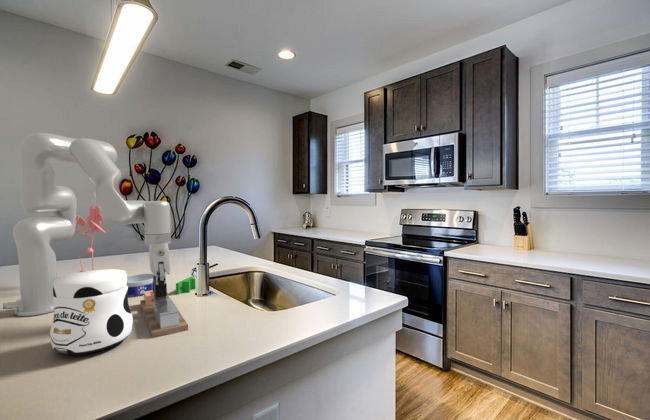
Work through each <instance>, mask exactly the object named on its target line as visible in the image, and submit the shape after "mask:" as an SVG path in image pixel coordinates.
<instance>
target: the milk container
mask: <svg viewBox="0 0 650 420" xmlns="http://www.w3.org/2000/svg"><path fill="white" fill-rule="evenodd" d="M84 271H85V272H80V271H79V272H74V273H73V272H72V273H70V274H65V275H62V276H59V277H58V276H57V278H56V279H55V280H54V283H53V295H54V296H53V306H54V311H53V317H52V323H51V325H50V330H49V339H50V345H51V347H52V349H53V350H54V351H55V352H56V353H59V354H61V355H67V356H68V355H69V356H76V355H77V356H78V355H86V354H91V353H95V352H100V351H103V350H106V349H110V348H112V347H114V346H116V345H118V344H120V343H122V342H123V341H124V340H126V339H127V338H128V337H129V335H130V334H131V332H132V330H133V323H134V320H133V318H134V317H133V314H132V310H131V308H130V304H129V298H128V286H127V276H128V274H127V271H125V270H124V269H114V268H110V269H108V268H107V269H94V270H93V269H92V270H84Z"/></svg>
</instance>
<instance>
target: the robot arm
mask: <svg viewBox="0 0 650 420" xmlns="http://www.w3.org/2000/svg"><path fill="white" fill-rule="evenodd" d="M18 153H19V154H18V155H19V156H18V157H19V161H20V168H21V181H20V205H21V208H22V209H23V210H24V211H25V212H27V213H31V214H46V213H47V214H49V216H33V217H27V218H23V219H21V220H19V221H18V222H16V224H14V226H13V230H12V236H13V240H14V243H15V246H16V251H17V256H18V257H17V259H18V272H19V289H20V290H19V291H20V298H19V299H16V300H15V301H12V302H11V301H8V302H3V303H2V309H3V310H13V309H15V310H14V315H15V316H17V317H33V316H38V315H44V314H49V313H51V312H52V313H54V306H53V296H54V295H53V283H54V280H55V279H56V278H58V267H57V266H58V265H57V256H56V253H55V251H54V250H53V248H52V247H51V244H56V243H62V242H67V241H69V240H70V239H71V238H73V236H74V235H75V233H76V232H75V231H76V225H77V221H76V217H77V206H78V205H77V204H78V203H77V202H78V201H77V196H76V194H75V193H74V191H73V190H72V189H71V188H69V187H67V186H64V185H56V171H55V169H54V167H53V165H52V164H51V162H50V161H56V162H57V161H58V162H65V163H74V164H77V165H78V166H79V167H80V169H81V170H82V171H83V172H84V173H85V175H86V176H87V177H88V178H89V180H90V181H91V182H92V184H93V185H94V187H93V193H94V200H95V203H96V206H97V205H98V207H99V208H100V211H101V212H102V213H103V214H104V215H105V216H106V218H107V219H109V221H111V222H112V223H114V224H116V225H119V226H125V225H133V224H134V225H135V224H144V225H143V226H144V244H145V245H147V246H148V253H149V255H148V256H149V267H150V272H151V273H152V274H153V279H154V278H156V285H155V296H156V298H158V297H164V296H167V292H168V291H167V290H168V289H167V288H168V287H167V286H168V285H167V277H166V276H167V275H170V274H171V271H172V270H171V259H170V249H169V244H171V243H172V237H171V235H172V233H171V205H170V202H168V201H166V200H142V199H141V200H138V199H137V200H133V199H132V200H131V199H130V200H125V199H123V198H122V197H121V195H120V194H119V193H118V191H117V190H116V188H115V186H114V185H115V184H116V183H117V182H118V181H119V180H121V179H120V178H121V177H122V173H121V170H120V169H119V168H118V167H117V165H116V164H115V163H116V162H117V160H118V153H117V150H116V148H115V147H114V146H113V145H112V144H111V143H109V142H107V141H106V142H105V141H102V140H97V139H93V138H88V137H86V138H85V137H80V138H74V137H68V136H64V135H60V134H59V135H58V134H56V133H49V132H36V133H35V132H34V133H31V134H29V135H27V136H26V137H25V138H24V139H23V140H22V141H21V143H20V145H19V151H18ZM166 274H167V275H166ZM153 293H154V283H153Z"/></svg>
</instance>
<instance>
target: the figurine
mask: <svg viewBox="0 0 650 420" xmlns="http://www.w3.org/2000/svg"><path fill="white" fill-rule="evenodd" d="M103 220H104V215H103V214H102V213H101V209H100V208H99V206H98V205H97V204H96V206H95V207H94V206H93V205H92V204H91V205H90V208H89V216H87V217H86V220H85V219H84V218H83V217H82V216H80V215H79V214H77V215H76V227H75V232H74V233H75V234H78V233H81V234H83V235H84V236H85V237H88V236H89V237H91V242H90V243H91V244H90V247H87V249H86V251H85V252H86V253H84V254H82V255H80V256H78V258H79V263H80V266H81V269H82V270H80V271H79V272H85V271H86V270H84V267H83V263H82V260H81V257H83V256H85V255H91V261H92V262H91V263H92V265H91V266H92V267H91V268H92V271H93V270H95V269H94V251H95V250H94V249H93V242H94V239H95V237H94V236H93V235H91V234H89V232H91V233H92V234H93V233H94V232H95V231H96V232H97V233H99V232H100V231H101V232H103V233H104V234H107V232H106V231H105V230H104V229H103V228H102V227H101V226H102V221H103ZM79 225H80V226H81V227H82V228H83V229H82V230H78V226H79ZM86 228H87V230H86ZM85 230H86V232H85Z"/></svg>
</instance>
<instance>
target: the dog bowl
mask: <svg viewBox="0 0 650 420" xmlns="http://www.w3.org/2000/svg"><path fill="white" fill-rule="evenodd" d="M127 286H128V299H129V298H130V297H131V298H138V296H139V297H144V296H143V295H144V292H145V291H151V290H153V274H152V272H151V273H150V272H149V273H146V272H143V273H134V274H133V273H132V274H127Z"/></svg>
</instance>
